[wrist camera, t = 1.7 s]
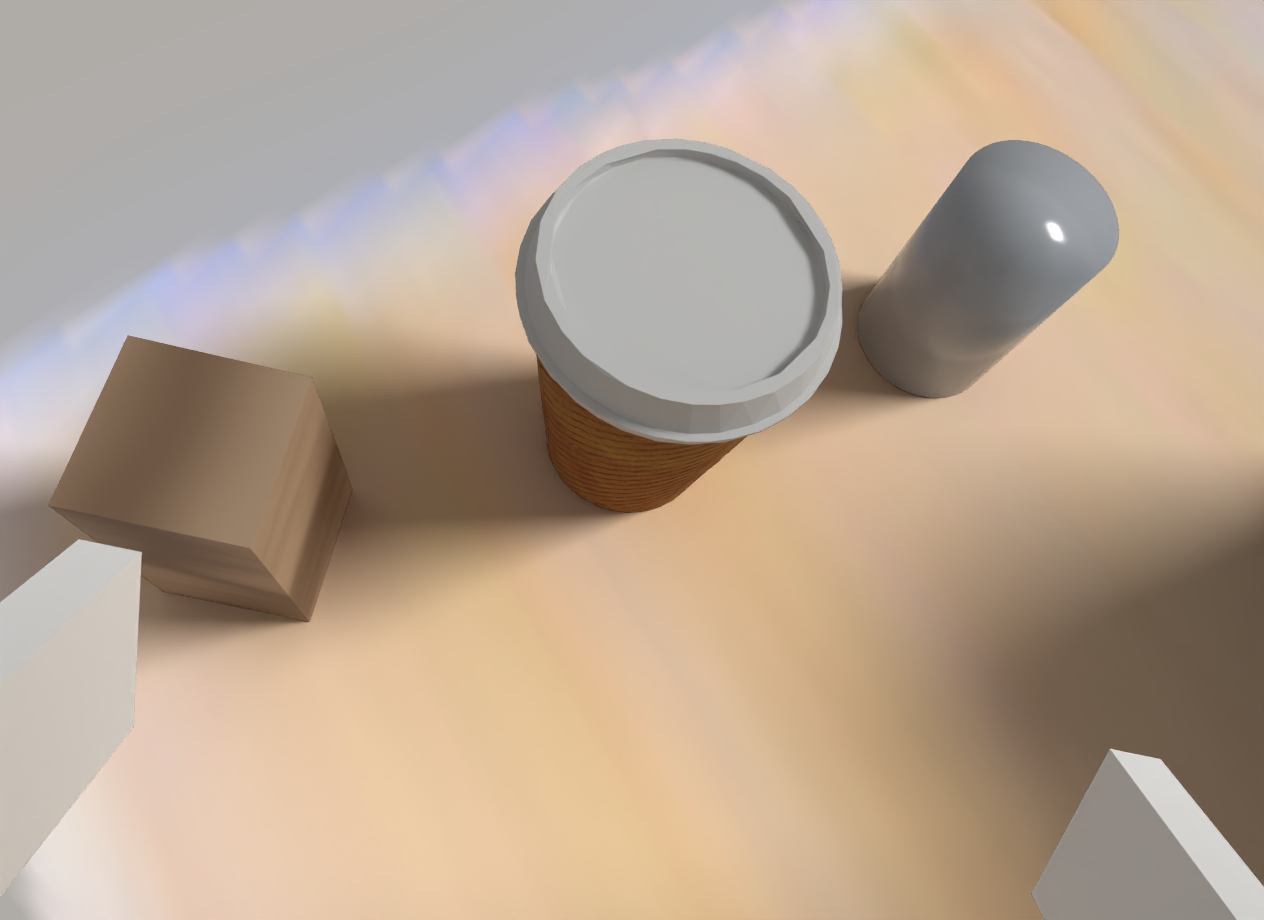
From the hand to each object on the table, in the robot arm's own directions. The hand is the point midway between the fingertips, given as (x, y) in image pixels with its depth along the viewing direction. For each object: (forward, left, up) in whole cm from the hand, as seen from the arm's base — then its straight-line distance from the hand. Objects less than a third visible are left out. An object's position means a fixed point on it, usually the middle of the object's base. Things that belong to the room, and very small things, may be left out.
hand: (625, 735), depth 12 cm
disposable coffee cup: (-1, -13, -20) cm, 24 cm away
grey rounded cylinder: (-13, -21, -20) cm, 32 cm away
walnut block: (+11, -6, -20) cm, 24 cm away
